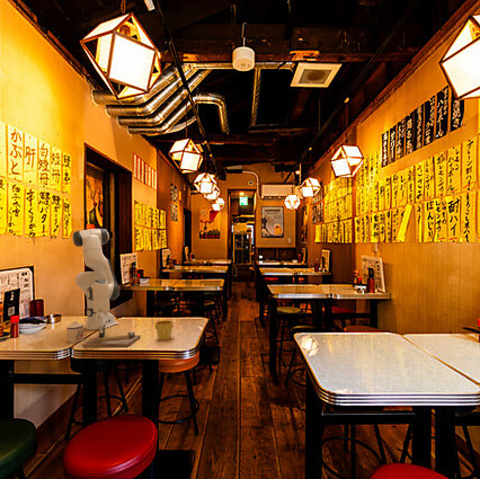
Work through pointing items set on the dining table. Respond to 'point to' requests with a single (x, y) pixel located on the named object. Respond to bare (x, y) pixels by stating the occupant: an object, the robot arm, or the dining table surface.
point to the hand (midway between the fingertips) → (102, 331)
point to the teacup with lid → (75, 332)
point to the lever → (103, 337)
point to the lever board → (111, 342)
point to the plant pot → (164, 329)
